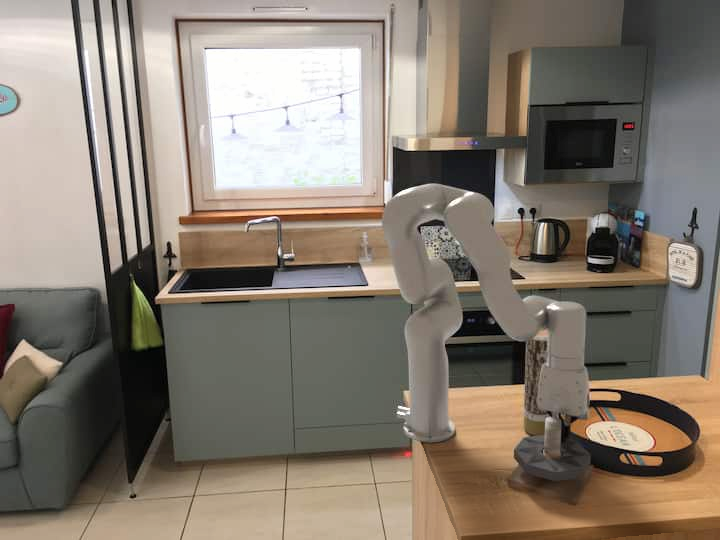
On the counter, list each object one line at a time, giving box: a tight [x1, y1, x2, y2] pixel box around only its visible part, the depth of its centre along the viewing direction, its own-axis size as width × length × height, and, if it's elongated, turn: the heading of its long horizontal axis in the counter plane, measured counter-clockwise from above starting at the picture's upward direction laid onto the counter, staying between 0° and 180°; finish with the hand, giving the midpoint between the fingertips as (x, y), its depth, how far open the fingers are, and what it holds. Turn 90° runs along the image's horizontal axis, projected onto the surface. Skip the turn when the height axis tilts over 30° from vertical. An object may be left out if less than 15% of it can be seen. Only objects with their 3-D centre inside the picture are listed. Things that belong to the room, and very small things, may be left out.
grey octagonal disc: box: [513, 435, 592, 481], centre depth 135 cm, size 14×14×2 cm
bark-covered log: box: [523, 330, 550, 436], centre depth 153 cm, size 7×7×25 cm
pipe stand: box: [507, 417, 594, 506], centre depth 134 cm, size 14×14×14 cm
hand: (562, 438), depth 140 cm, fingers closed
